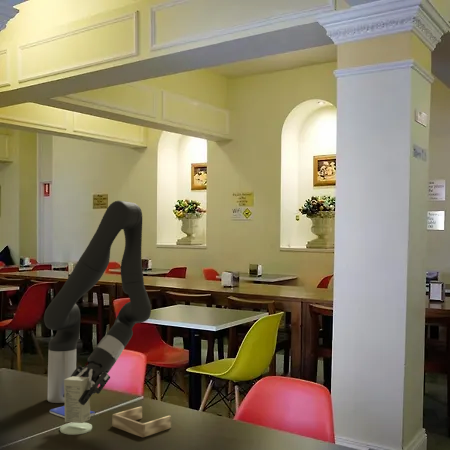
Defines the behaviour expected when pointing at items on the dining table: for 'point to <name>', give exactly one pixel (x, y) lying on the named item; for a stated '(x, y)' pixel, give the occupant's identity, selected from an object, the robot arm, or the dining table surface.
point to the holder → (129, 424)
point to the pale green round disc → (75, 428)
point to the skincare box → (76, 400)
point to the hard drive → (63, 411)
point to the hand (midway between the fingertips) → (73, 400)
